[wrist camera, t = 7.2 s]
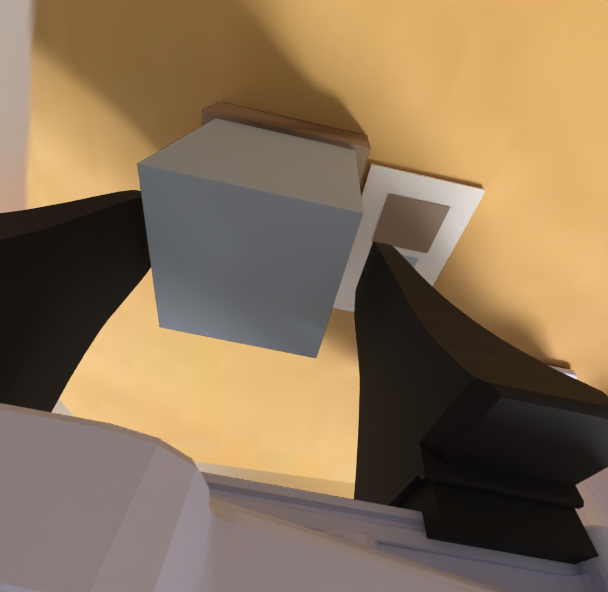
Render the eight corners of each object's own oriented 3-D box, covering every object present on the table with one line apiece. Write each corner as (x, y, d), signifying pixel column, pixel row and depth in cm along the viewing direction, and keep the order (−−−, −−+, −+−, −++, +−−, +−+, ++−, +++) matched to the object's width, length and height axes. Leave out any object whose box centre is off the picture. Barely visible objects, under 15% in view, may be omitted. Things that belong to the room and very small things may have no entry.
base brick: (367, 135, 13) (370, 147, 11) (331, 259, 17) (330, 281, 15) (219, 101, 13) (201, 109, 11) (217, 235, 16) (204, 255, 15)
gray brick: (355, 150, 11) (363, 213, 7) (323, 265, 14) (316, 358, 10) (216, 118, 11) (137, 163, 7) (214, 242, 14) (159, 327, 10)
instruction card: (484, 188, 14) (486, 190, 13) (411, 321, 19) (412, 324, 18) (371, 163, 13) (371, 165, 13) (327, 304, 18) (327, 307, 18)
